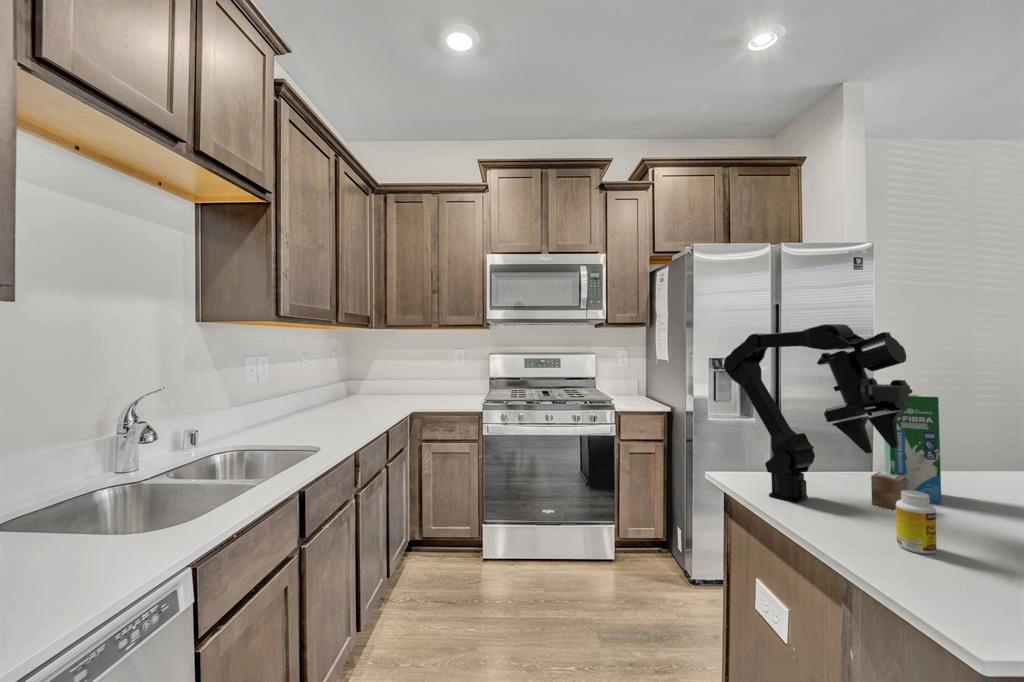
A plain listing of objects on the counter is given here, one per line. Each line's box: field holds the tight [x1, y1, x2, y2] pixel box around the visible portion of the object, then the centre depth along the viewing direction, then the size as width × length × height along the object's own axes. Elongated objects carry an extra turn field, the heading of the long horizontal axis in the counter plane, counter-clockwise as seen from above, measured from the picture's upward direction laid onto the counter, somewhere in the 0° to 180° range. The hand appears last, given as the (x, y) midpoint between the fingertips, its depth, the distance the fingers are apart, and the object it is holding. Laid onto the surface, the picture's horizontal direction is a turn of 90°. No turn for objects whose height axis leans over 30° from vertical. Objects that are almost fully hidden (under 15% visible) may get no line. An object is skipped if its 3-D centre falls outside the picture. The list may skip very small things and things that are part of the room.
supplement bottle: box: [895, 490, 937, 555], centre depth 84 cm, size 6×6×10 cm
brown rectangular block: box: [870, 471, 906, 511], centre depth 105 cm, size 5×5×7 cm
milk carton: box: [883, 393, 942, 504], centre depth 112 cm, size 9×9×25 cm
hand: (882, 450), depth 94 cm, fingers open, 9 cm apart
